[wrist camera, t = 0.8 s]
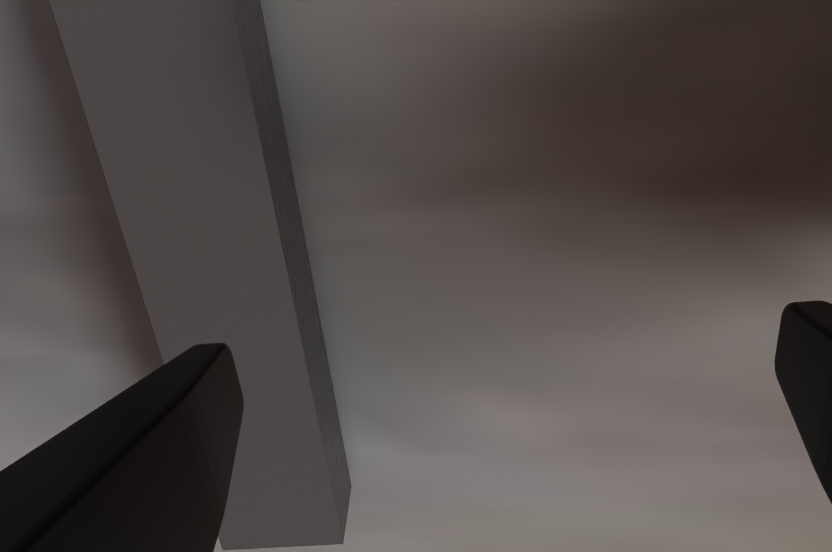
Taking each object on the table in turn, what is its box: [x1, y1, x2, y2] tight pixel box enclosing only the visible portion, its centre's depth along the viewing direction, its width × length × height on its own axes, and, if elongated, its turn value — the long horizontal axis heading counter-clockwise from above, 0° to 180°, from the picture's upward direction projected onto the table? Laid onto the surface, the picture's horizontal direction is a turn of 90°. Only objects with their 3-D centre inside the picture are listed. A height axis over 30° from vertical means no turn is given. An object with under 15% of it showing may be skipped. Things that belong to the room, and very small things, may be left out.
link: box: [49, 0, 351, 550], centre depth 19 cm, size 24×6×3 cm, turn 6°
